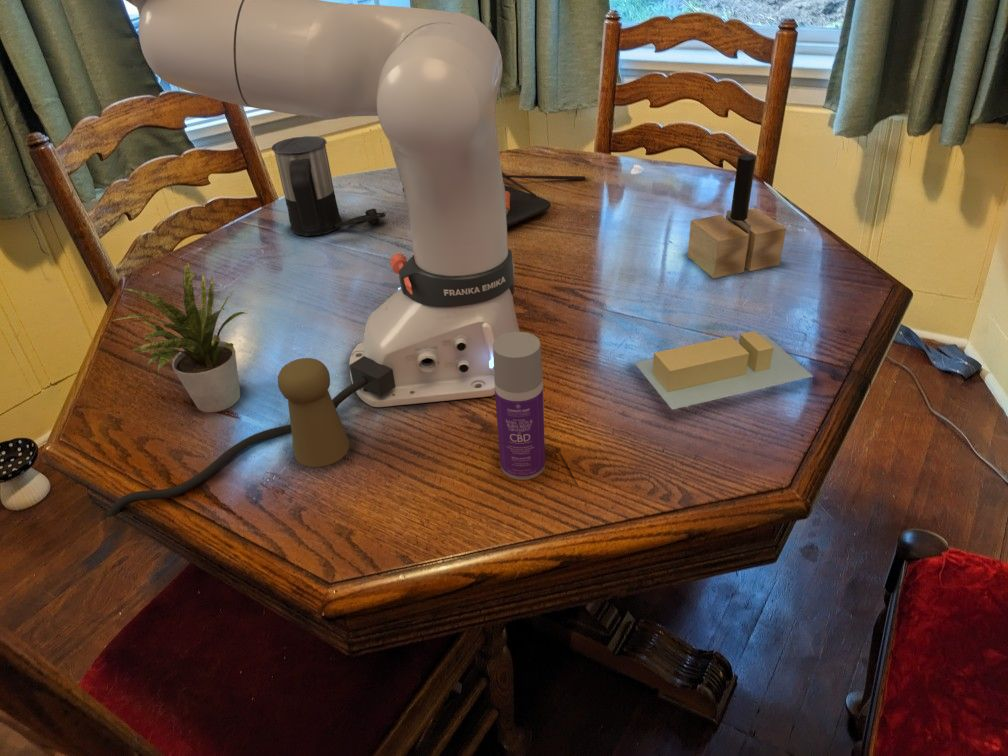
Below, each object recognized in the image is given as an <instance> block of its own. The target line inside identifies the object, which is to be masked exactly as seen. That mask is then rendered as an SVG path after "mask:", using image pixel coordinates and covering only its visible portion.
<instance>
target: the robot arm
mask: <svg viewBox="0 0 1008 756" xmlns="http://www.w3.org/2000/svg"><path fill="white" fill-rule="evenodd" d="M125 1H126V2H127V3H129V4H130V5H132V6H134V7H135V8H136V9H137V12H138V16H139V20H138V40H139V45H140V48H141V52H142V55H143V58H144V59H145V61H146V63H147V65H148V66H149V68H150V69H151V71H152V72H153V73H154V74H155V75H156V76H157V77H158V78H159V79H160V80H162V81H163V82H166V83H167V84H169V85H172V86H173V87H177V88H179V89H182V90H184V91H187V92H190V93H193V94H197V95H199V96H202V97H205V98H208V99H209V98H210V99H213V100H217V101H219V102H223V103H224V102H225V103H227V104H228V103H229V104H233V105H237V106H242V107H248V108H253V109H259V110H263V111H264V110H266V111H271V112H277V113H284V114H289V115H295V116H300V117H307V118H313V119H320V120H326V121H327V120H338V119H343V118H353V117H354V118H355V117H377V118H378V122H379V125H380V128H381V130H382V131H383V133H384V135H385V137H386V138H387V140H388V143H389V147H390V150H391V153H392V157H393V161H394V164H395V166H396V169H397V173H398V176H399V179H400V182H401V185H402V188H403V189H404V192H403V194H404V198H405V202H406V209H407V210H406V211H407V217H408V222H409V231H410V237H411V243H412V251H413V255H412V256H411V257H410V258H409V259H407V257H406V256H404V254H402V253H395V254H393V255H392V256H391V258H390V259H389V261H390V262H389V264H390V266H391V268H392V271H393V272H394V273H395V274H396V275H398V277H399V278H398V279H399V286H400V287H397V291H396V292H394V294H392V295H391V296H390V297H389V298H387V300H385V302H382V304H380V306H378V307H377V308H376V309H375V310H373V311H372V312H371V313H370V314H369V316H368V317H367V320H366V323H365V328H364V333H363V341H362V342H360V343H358V344H357V345H356V346H355V347H354V349H353V350H352V352H351V354H350V357H349V365H348V366H349V375H350V382H351V384H350V385H348V386H346V387H345V388H344V389H343V390H342V391H340V392H339V393H338V394H336V395H335V396H334V398H332V401H333V403H334V406H335V408H336V409H338V407H339V406H340V404H342V403H343V402H344V401H345V400H346V399H347V398H348V397H350V396H352V395H353V394H354V393H356V395H357V396H358V397H359V399H360V400H361V401H362V402H364V403H365V404H367V405H368V406H370V407H372V408H385V407H395V406H405V405H413V404H414V405H416V404H425V403H437V402H445V401H447V402H448V401H457V400H464V399H465V400H466V399H476V398H485V397H493V396H495V383H494V361H493V343H494V341H495V340H496V339H497V338H498V337H499V336H501V335H503V334H506V333H510V332H521V330H520V326H519V322H518V317H517V313H516V308H515V303H514V294H515V284H516V281H515V280H516V278H515V263H514V258H513V252H512V250H511V249H510V247H509V238H508V226H507V218H506V200H505V185H506V184H505V182H504V177H502V173H503V172H502V166H501V165H502V164H501V156H500V148H499V139H498V130H497V116H496V115H497V103H498V102H497V100H498V95H499V89H500V87H501V82H502V78H503V58H502V54H501V53H502V52H501V50H500V47H499V44H498V42H497V41H496V39H495V37H494V35H493V33H492V32H491V31H490V30H489V28H488V27H487V26H486V25H485V24H484V23H482V21H480V20H479V19H477V18H476V17H474V16H471V15H470V14H467V13H463V12H458V11H457V12H456V11H448V10H440V9H439V10H438V9H430V8H419V7H409V6H394V5H382V4H363V3H362V4H359V3H343V2H333V1H327V0H125ZM290 433H291V434H292V431H291V423H290V424H286V425H281V426H278V427H273V428H269V429H267V430H262V431H260V432H257V433H255V434H253V435H250V436H248V437H246V438H244V439H242V440H240V441H239V442H237V443H236V444H233V446H231V447H230V448H229V449H227V450H225V452H224V453H222V454H221V455H219V456H218V457H217V458H216V459H215V460H214V461H212V463H210V464H209V465H208V466H206V467H205V468H204V469H203V470H202V471H200V472H199V473H197V474H196V475H194V476H193V477H191V478H189V479H188V480H186V481H184V482H182V483H179V484H177V485H175V486H172V487H168V488H161V489H152V490H151V489H150V490H149V489H148V490H142V491H141V490H140V491H134V492H130V493H127V494H124V495H123V496H122V497H119V498H118V499H117V500H116V501H115V502H114V503H112V505H111V507H110V508H109V510H108V511H107V513H106V516H107V517H108V518H111V517H115V516H117V515H118V514H119V513H120V512H121V510H122V509H123V508H125V507H127V506H128V505H130V504H132V503H136V502H142V501H151V500H152V501H153V500H163V499H169V498H173V497H177V496H180V495H182V494H184V493H186V492H188V491H191V490H192V489H194V488H195V487H197V486H199V485H200V484H202V483H204V482H205V481H206V480H207V479H209V478H210V477H211V476H213V475H214V474H215V473H216V472H217V471H219V470H220V469H221V468H223V466H224V465H225V464H227V463H228V462H229V461H230V460H231V459H233V458H234V457H235V456H237V455H239V454H240V453H241V452H243V451H244V450H245V449H247V448H249V447H251V446H253V445H255V444H257V443H260V442H262V441H264V440H267V439H271V438H276V437H278V436H283V435H286V434H290Z"/></svg>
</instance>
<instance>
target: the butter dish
mask: <svg viewBox="0 0 1008 756" xmlns="http://www.w3.org/2000/svg"><path fill="white" fill-rule="evenodd" d="M759 335H760V336H761V337H762V338H763V339H764V340H766V341H767V342H768V343H769V344H770V345H771V346H772V347H774V349H773V355H772V360H771V365H770V369H767V370H763V371H758V372H754V371H753V370H752V369H751V368H750V367H749V366H748V365H747V369H746V374H745V375H741V376H736V377H732V378H728V379H723V380H719V381H715V382H710V383H706V384H702V385H697V386H693V387H688V388H684V389H680V390H675V391H671V392H667V391H666V389H665V388H664V387H663V386H662V384H661V383H660V382H659V381H658V380H657V378H656V377H655V376H654V375H653V361H654V357H652V358H647V359H643V360H638V361H634V363H633V364H634V365H635V366H636V367H637V368H638V370H639V371H640V372H641V374H642V375H644V378H646V379H647V381H648V382H649V384H651V386H652V387H653V388H654V389H655V390H656V392H657V393H658V394H659V396H660V397H661V398H662V399H663V400H664V402H665V403H666V404H667V405H668V407H669V408H670V409H671V410H676V409H681V408H685V407H690V406H693V405H698V404H703V403H706V402H710V401H716V400H719V399H724V398H729V397H733V396H736V395H741V394H745V393H750V392H753V391H758V390H762V389H766V388H770V387H775V386H780V385H783V384H788V383H792V382H797V381H801V380H805V379H809V378H813V377H814V375H813V373H810V372H809V371H808V370H807V369H806V368H805V367H804V366H803V365H801V364H800V363H799V362H798V361H797V360H796V359H795V358H794V357H792V356H791V355H790V354H789V353H788V352H787V351H785V350H784V349H783V347H781V346H780V345H778V344H777V343H776V342H775V341H774V340H773V339H772V338H770V337H769V335H767V334H766V333H762V334H759ZM735 340H736V341H737V342H738V343H739V338H738V339H735Z"/></svg>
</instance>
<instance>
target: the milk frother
mask: <svg viewBox="0 0 1008 756" xmlns="http://www.w3.org/2000/svg"><path fill="white" fill-rule="evenodd" d="M327 143H328V142H327V140H326V138H324V137H321V136H315V135H306V136H297V137H290V138H286V139H282V140H280V141H278V142H276V143H274V144H273V145H271V148H270V149H271V151H272V152H273V153H274V157H275V162H276V165H277V170H278V175H279V178H280V184H281V187H282V193H283V195H284V201H285V204H286V208H287V212H288V220H289V223H290V227H289V230H290V232H291V233H293V234H295V235H298V236H303V237H304V236H305V237H307V236H308V237H311V236H320V235H321V236H322V235H324V234H328V233H331V232H333V231H336V230H337V229H339V228H340V227H344V226H350V225H356V224H361V223H365V222H367V223H368V225H375V224H378V223H379V222H380V220H379V219H382V218H385V217H386V212H385V211H384V212H377V209H376V208H370V209H367V210H365V214H362V215H359V216H355V217H351V218H349V219H347V220H343V218H342V217H341V215H340V211H339V207H338V202H337V198H336V194H335V189H334V183H333V178H332V172H331V167H330V162H329V156H328V152H327V147H326V145H327Z"/></svg>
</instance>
